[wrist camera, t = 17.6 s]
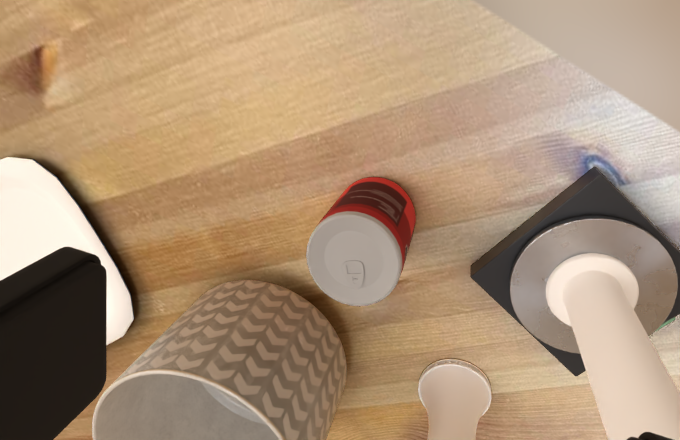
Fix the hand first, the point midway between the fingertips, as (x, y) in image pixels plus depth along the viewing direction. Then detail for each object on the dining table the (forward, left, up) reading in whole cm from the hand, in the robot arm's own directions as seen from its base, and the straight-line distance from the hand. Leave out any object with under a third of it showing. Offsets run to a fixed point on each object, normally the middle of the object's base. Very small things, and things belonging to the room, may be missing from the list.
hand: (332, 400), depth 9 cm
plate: (+31, -43, -38) cm, 66 cm away
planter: (+31, -12, -38) cm, 51 cm away
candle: (+12, +16, -35) cm, 40 cm away
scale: (+12, +16, -38) cm, 43 cm away
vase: (+29, +9, -38) cm, 49 cm away
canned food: (+12, -3, -38) cm, 40 cm away
